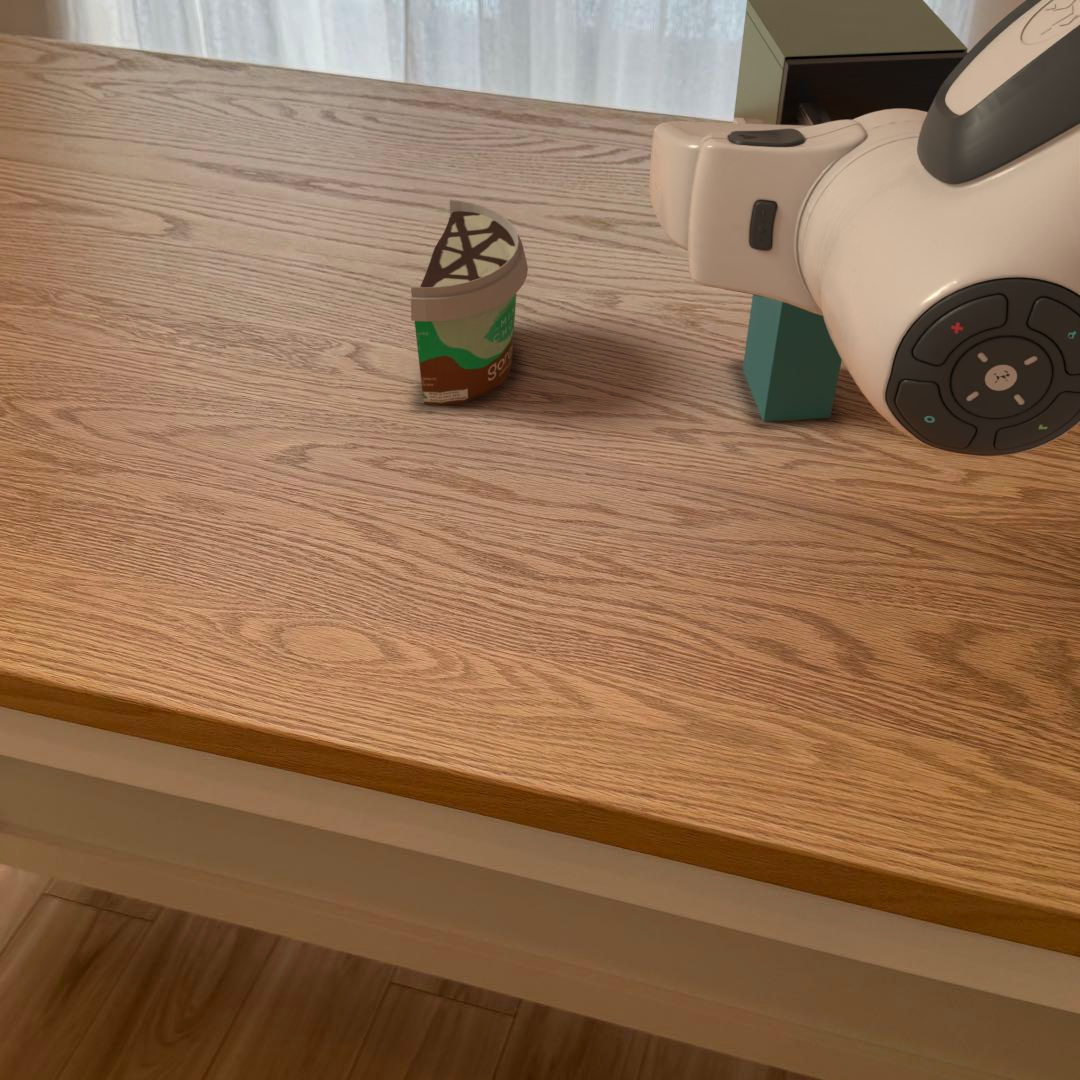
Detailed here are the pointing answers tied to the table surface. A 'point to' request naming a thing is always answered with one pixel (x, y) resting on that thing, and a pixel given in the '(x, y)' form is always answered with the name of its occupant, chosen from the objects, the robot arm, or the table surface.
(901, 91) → the black cabinet door
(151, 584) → the table surface
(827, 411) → the detergent bottle
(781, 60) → the olive green small cabinet
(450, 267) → the food container
